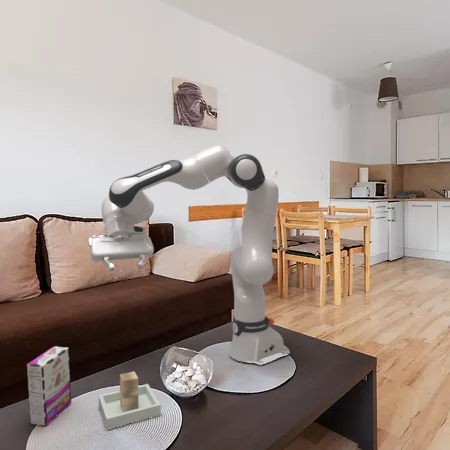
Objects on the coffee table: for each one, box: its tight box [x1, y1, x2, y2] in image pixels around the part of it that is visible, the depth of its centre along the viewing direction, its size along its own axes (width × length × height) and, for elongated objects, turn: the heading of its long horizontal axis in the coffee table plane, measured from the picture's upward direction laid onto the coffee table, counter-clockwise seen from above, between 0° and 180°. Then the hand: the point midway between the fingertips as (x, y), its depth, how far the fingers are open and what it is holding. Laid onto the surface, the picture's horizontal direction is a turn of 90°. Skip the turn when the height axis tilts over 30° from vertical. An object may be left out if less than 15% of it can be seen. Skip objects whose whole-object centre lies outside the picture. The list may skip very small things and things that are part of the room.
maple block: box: [119, 371, 139, 412], centre depth 104 cm, size 4×4×9 cm
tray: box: [98, 383, 162, 430], centre depth 104 cm, size 14×12×3 cm
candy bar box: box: [26, 345, 72, 426], centre depth 102 cm, size 11×5×16 cm, turn 168°
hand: (126, 268), depth 123 cm, fingers open, 8 cm apart
